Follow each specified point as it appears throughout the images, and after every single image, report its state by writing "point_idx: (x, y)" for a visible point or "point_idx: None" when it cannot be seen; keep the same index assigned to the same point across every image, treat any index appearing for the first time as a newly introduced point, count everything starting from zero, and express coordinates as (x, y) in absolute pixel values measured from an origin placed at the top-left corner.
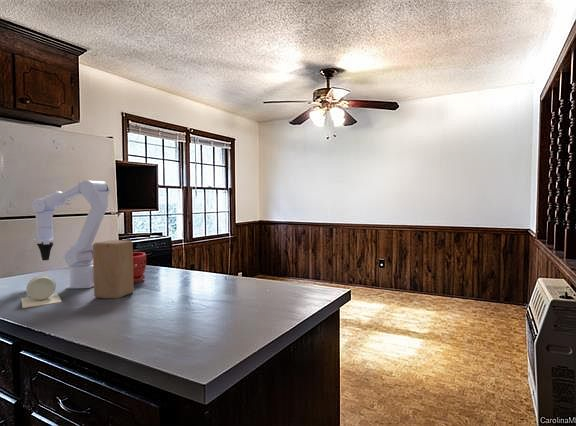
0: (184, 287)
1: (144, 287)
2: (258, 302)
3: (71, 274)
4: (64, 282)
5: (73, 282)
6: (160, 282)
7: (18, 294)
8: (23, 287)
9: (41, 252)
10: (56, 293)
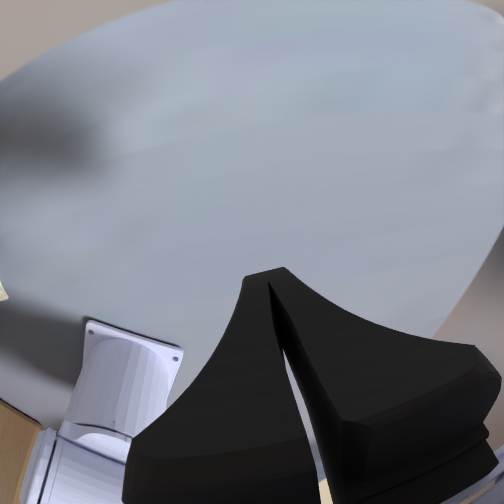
0: None
1: None
2: None
3: (76, 390)
4: None
5: (83, 366)
6: None
7: (33, 119)
8: (224, 80)
9: (217, 350)
10: (4, 296)
